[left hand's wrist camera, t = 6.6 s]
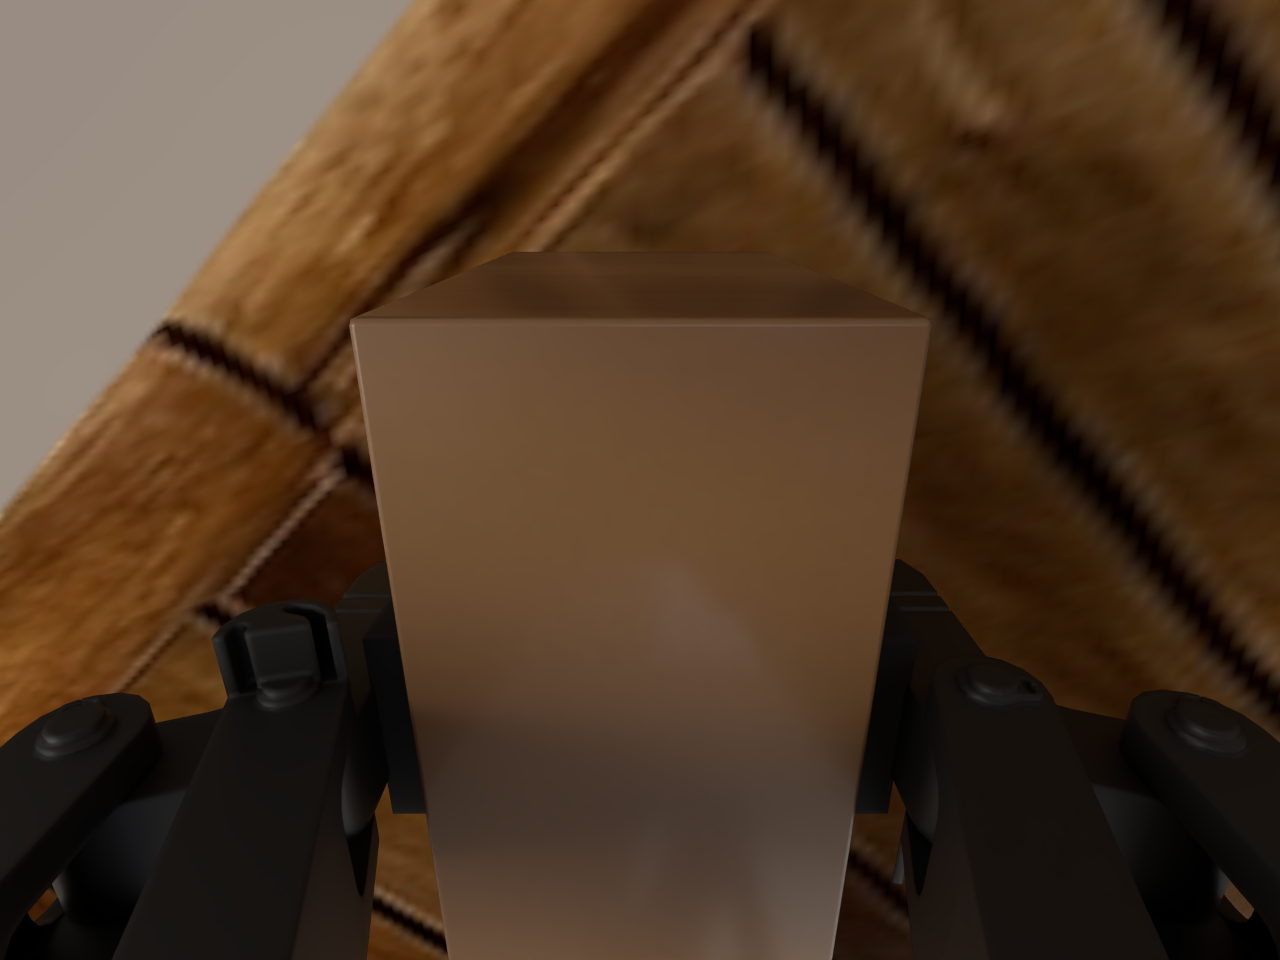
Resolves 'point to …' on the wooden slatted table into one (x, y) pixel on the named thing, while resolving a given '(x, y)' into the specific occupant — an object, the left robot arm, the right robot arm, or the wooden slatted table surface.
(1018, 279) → the wooden slatted table surface
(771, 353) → the beam
